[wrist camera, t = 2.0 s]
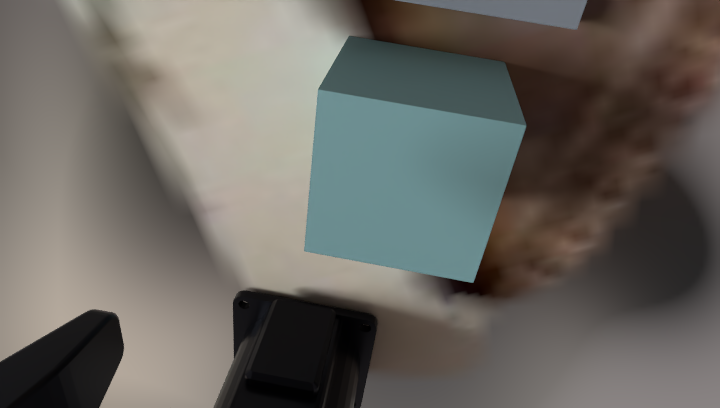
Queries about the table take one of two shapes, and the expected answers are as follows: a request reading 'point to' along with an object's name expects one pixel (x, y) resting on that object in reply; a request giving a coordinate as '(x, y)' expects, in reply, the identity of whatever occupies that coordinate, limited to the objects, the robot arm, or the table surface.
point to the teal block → (411, 157)
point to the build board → (519, 9)
